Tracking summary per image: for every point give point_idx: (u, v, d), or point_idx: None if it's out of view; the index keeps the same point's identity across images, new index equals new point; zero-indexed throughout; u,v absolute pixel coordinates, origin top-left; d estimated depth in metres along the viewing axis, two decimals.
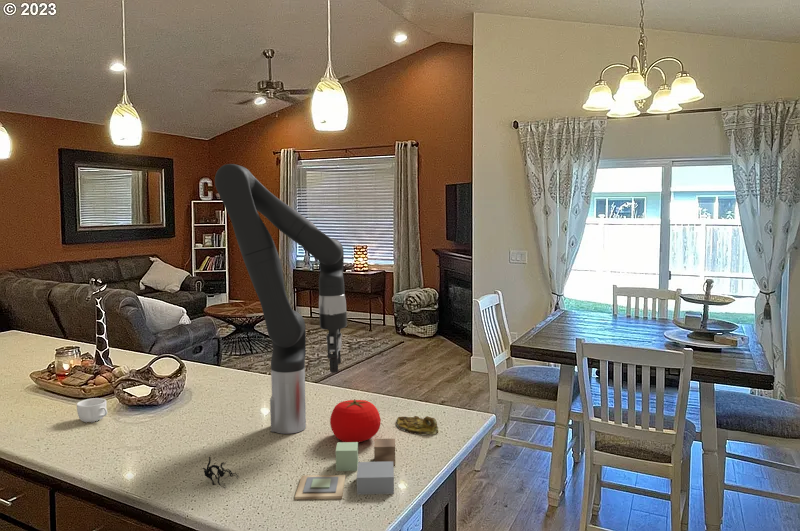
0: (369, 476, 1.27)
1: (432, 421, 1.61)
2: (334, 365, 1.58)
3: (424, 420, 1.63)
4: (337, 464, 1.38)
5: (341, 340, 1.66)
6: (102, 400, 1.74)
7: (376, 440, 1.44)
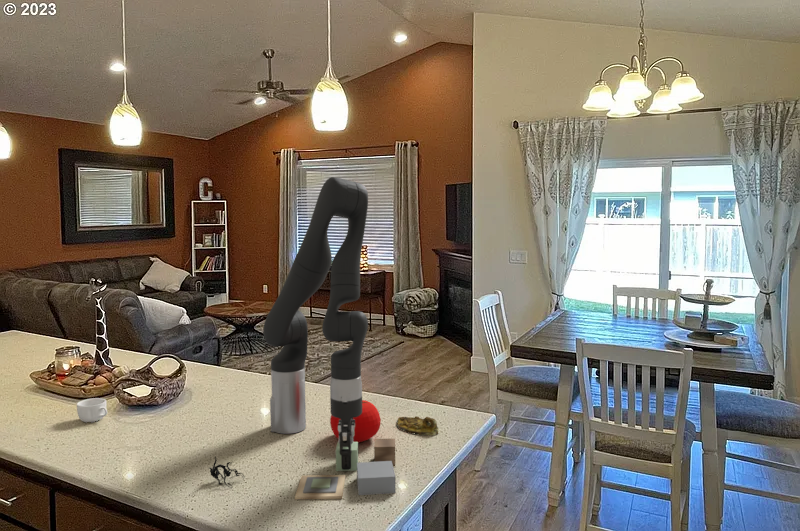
0: (370, 477, 1.27)
1: (432, 422, 1.60)
2: (347, 462, 1.37)
3: (424, 421, 1.62)
4: (337, 464, 1.38)
5: (354, 430, 1.42)
6: (102, 400, 1.74)
7: (376, 440, 1.44)
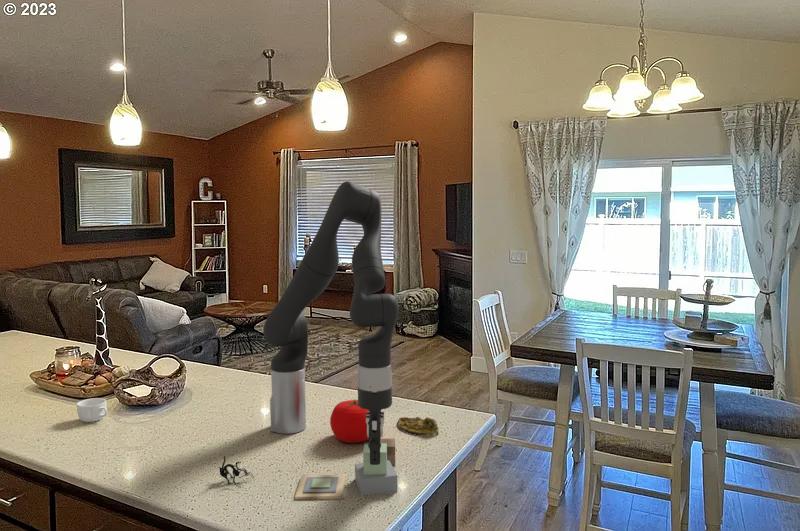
0: (373, 477, 1.26)
1: (432, 422, 1.60)
2: (376, 456, 1.25)
3: (424, 421, 1.62)
4: (365, 467, 1.28)
5: None
6: (102, 400, 1.74)
7: None
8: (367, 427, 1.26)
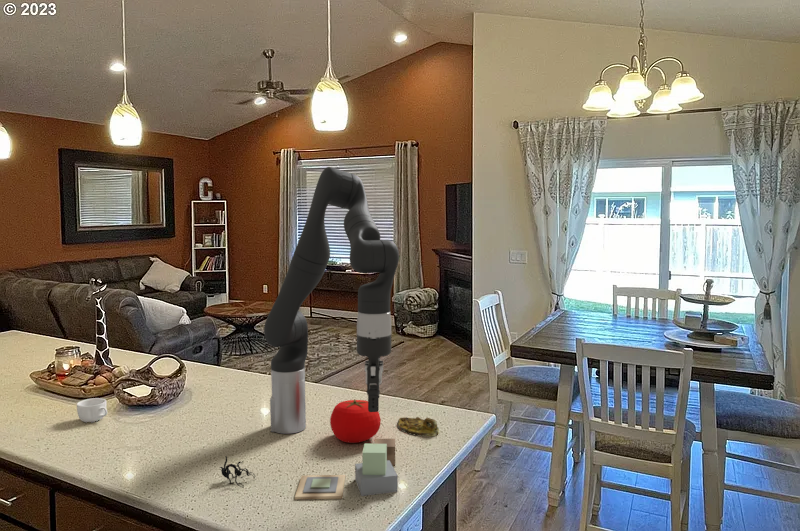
0: (373, 477, 1.26)
1: (432, 423, 1.60)
2: (374, 403, 1.23)
3: (424, 421, 1.62)
4: (364, 467, 1.28)
5: None
6: (102, 400, 1.74)
7: (376, 440, 1.44)
8: (366, 374, 1.25)
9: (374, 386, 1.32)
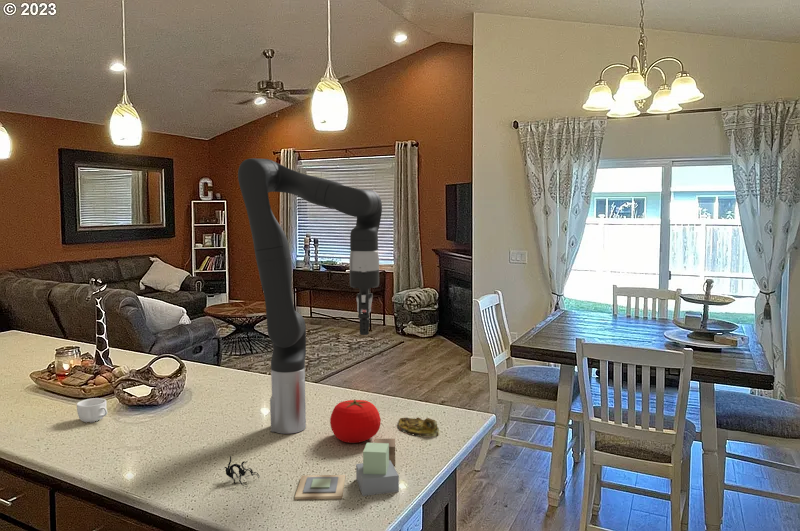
0: (374, 477, 1.27)
1: (432, 423, 1.59)
2: (365, 327, 1.45)
3: (425, 422, 1.61)
4: (365, 466, 1.28)
5: None
6: (102, 400, 1.74)
7: (376, 440, 1.44)
8: (357, 303, 1.47)
9: None
